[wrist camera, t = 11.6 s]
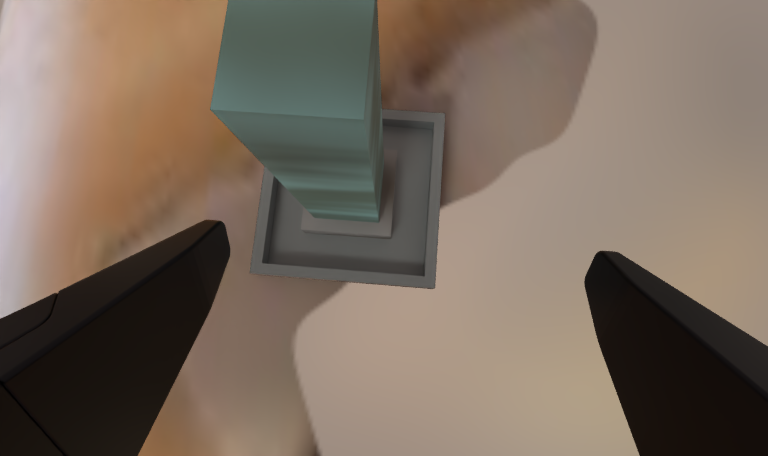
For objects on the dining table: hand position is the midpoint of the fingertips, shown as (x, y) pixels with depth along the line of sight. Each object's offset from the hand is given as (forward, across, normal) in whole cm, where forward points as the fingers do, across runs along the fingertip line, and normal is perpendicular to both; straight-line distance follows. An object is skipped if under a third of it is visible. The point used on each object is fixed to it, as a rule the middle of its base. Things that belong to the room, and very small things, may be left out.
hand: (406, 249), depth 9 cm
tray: (+13, +3, +6) cm, 15 cm away
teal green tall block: (+12, +3, +6) cm, 14 cm away
